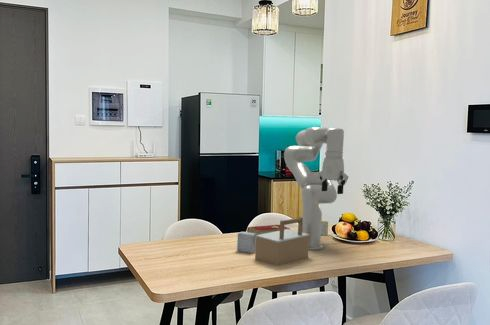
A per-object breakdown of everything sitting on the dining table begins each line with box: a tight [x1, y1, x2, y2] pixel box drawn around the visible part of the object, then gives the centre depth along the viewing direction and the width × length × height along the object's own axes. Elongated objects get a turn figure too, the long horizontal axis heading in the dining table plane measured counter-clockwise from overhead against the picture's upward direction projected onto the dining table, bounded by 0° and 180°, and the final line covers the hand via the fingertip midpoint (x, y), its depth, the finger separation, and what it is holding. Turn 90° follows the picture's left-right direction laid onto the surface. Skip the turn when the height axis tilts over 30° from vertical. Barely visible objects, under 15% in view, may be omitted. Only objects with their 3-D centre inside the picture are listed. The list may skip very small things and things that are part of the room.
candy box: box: [321, 220, 329, 237], centre depth 257 cm, size 16×2×8 cm, turn 83°
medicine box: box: [236, 231, 256, 254], centre depth 216 cm, size 8×4×9 cm, turn 65°
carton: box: [254, 236, 310, 267], centre depth 207 cm, size 13×22×10 cm, turn 135°
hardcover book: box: [246, 224, 291, 235], centre depth 254 cm, size 12×21×4 cm, turn 119°
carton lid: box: [256, 216, 309, 243], centre depth 206 cm, size 13×22×9 cm, turn 135°
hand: (332, 192), depth 208 cm, fingers open, 9 cm apart
